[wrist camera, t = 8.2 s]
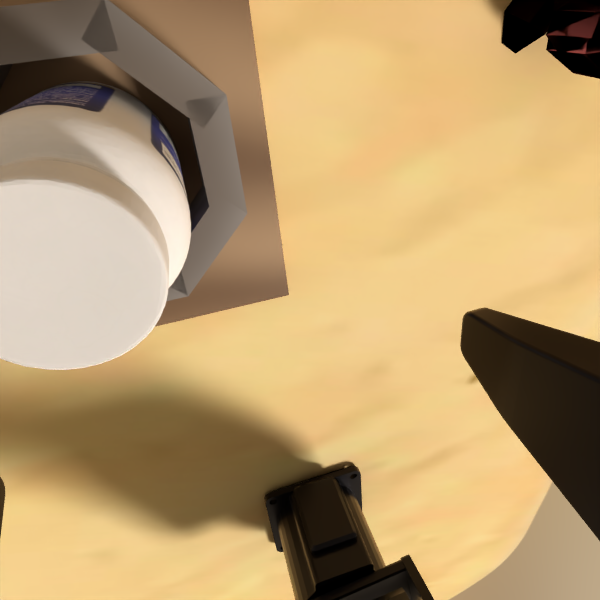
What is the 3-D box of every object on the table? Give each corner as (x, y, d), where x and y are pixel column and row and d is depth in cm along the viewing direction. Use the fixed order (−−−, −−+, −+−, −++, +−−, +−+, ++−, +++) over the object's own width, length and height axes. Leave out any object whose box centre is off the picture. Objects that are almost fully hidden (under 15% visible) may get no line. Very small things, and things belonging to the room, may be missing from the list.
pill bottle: (-8, 196, 15) (-167, 354, 7) (43, 44, 13) (-98, 55, 6) (146, 257, 17) (139, 419, 10) (205, 135, 16) (249, 222, 8)
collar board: (283, 284, 21) (304, 324, 18) (13, 347, 19) (-13, 403, 16) (227, -110, 13) (247, -150, 10) (-236, -80, 11) (-371, -119, 8)
